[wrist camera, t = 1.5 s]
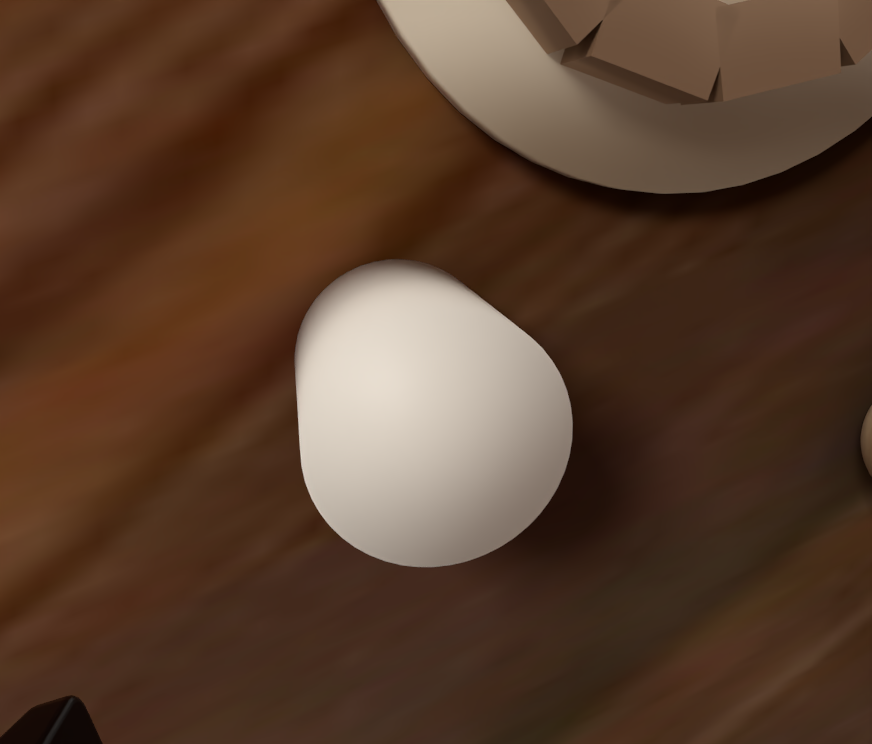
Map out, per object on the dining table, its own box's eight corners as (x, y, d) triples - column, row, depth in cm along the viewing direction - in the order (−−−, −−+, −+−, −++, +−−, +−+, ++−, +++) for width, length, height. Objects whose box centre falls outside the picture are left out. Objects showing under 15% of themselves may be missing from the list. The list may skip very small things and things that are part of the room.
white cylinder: (509, 422, 18) (590, 523, 13) (324, 475, 17) (341, 599, 13) (471, 237, 16) (548, 276, 12) (269, 288, 16) (264, 350, 11)
